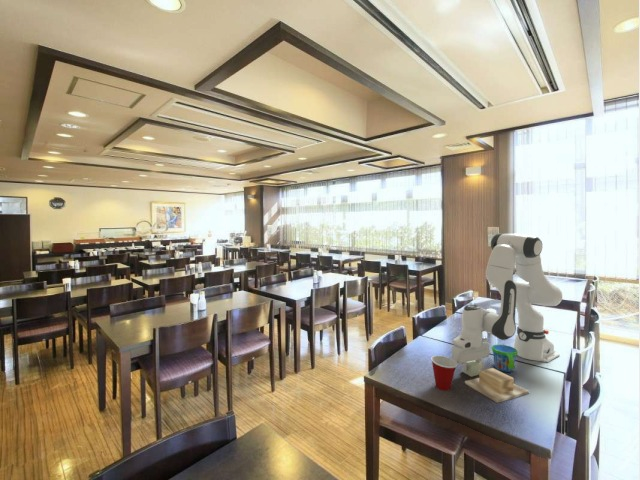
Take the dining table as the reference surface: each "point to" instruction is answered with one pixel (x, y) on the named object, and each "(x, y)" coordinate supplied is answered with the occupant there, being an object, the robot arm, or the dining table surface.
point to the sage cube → (472, 368)
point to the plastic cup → (443, 371)
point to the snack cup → (504, 357)
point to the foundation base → (494, 394)
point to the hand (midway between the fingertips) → (470, 368)
